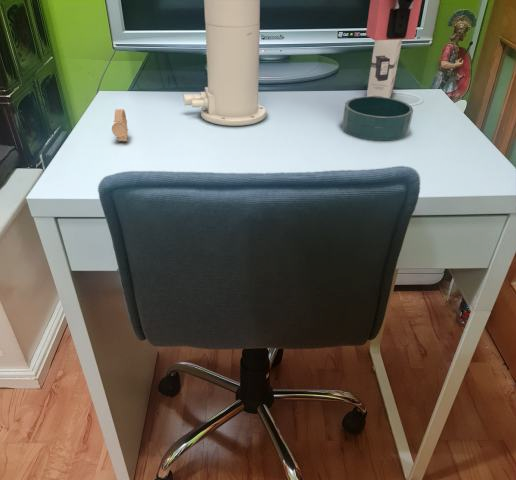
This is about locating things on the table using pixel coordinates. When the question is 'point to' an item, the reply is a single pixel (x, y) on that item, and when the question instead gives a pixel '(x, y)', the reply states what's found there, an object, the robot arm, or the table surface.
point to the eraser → (380, 16)
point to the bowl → (377, 118)
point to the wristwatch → (120, 125)
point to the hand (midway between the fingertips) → (390, 33)
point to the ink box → (383, 67)
